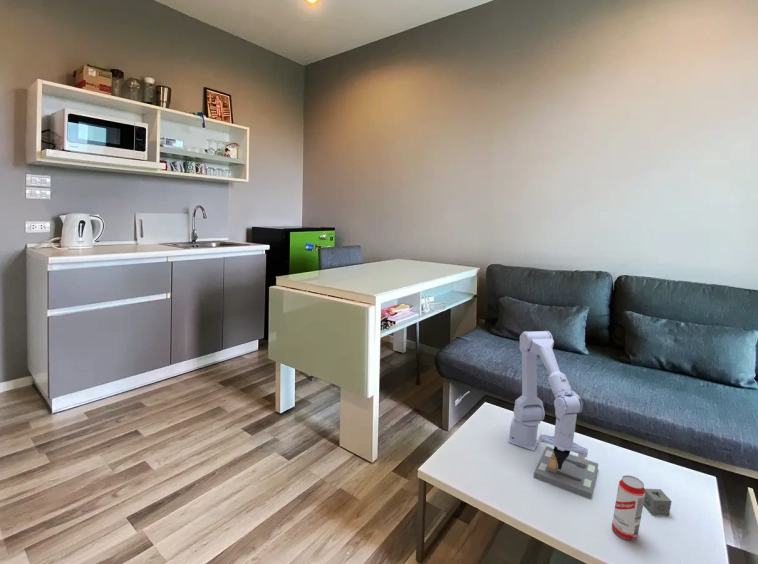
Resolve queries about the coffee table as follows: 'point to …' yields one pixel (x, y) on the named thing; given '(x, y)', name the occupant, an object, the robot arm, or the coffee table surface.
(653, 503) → the dice cube
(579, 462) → the white lever
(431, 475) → the coffee table surface
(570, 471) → the slider lever panel
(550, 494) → the coffee table surface
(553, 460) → the orange lever
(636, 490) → the beer can
